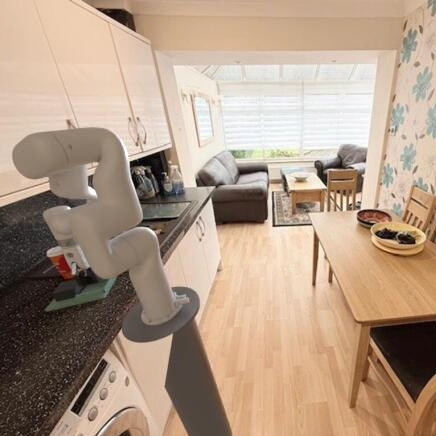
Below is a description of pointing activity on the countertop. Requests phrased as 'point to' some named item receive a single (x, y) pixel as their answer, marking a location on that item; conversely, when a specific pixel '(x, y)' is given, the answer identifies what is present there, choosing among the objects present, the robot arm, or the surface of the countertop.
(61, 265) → the paper cup
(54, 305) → the base board
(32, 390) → the countertop surface
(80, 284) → the black pad
